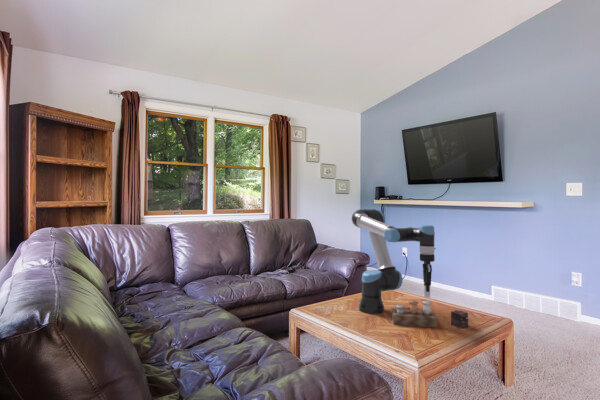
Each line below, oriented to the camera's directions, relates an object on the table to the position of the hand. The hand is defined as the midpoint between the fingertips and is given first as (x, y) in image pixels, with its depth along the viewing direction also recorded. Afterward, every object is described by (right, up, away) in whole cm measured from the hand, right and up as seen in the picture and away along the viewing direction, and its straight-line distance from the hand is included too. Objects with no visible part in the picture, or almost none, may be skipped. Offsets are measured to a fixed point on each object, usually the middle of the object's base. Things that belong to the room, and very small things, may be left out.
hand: (427, 297), depth 180 cm
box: (+16, -15, -4) cm, 22 cm away
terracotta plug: (-7, -10, +1) cm, 12 cm away
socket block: (-7, -14, +1) cm, 16 cm away
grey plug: (-14, -13, +3) cm, 19 cm away
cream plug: (0, -10, 0) cm, 10 cm away
